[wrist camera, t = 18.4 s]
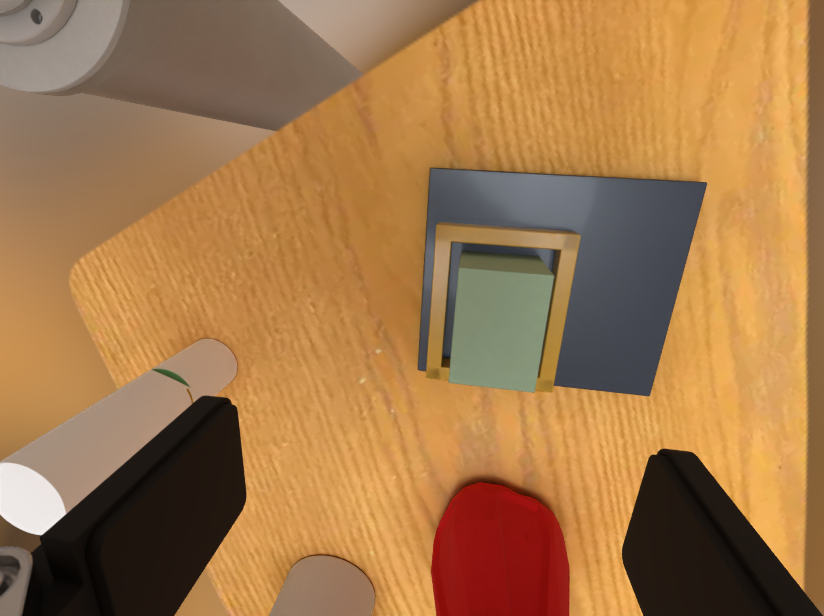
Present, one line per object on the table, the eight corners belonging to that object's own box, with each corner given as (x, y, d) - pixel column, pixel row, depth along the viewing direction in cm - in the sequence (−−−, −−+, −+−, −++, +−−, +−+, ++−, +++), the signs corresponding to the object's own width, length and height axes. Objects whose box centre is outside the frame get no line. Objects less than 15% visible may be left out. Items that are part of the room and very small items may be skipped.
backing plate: (419, 363, 31) (414, 380, 29) (431, 167, 27) (427, 167, 24) (643, 388, 29) (659, 408, 27) (697, 181, 25) (722, 183, 22)
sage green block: (524, 356, 28) (535, 393, 24) (452, 348, 29) (448, 383, 24) (540, 256, 26) (554, 275, 21) (461, 250, 27) (458, 267, 22)
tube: (246, 377, 34) (82, 525, 20) (205, 391, 35) (21, 542, 21) (221, 331, 33) (28, 453, 19) (179, 347, 34) (-33, 474, 20)
